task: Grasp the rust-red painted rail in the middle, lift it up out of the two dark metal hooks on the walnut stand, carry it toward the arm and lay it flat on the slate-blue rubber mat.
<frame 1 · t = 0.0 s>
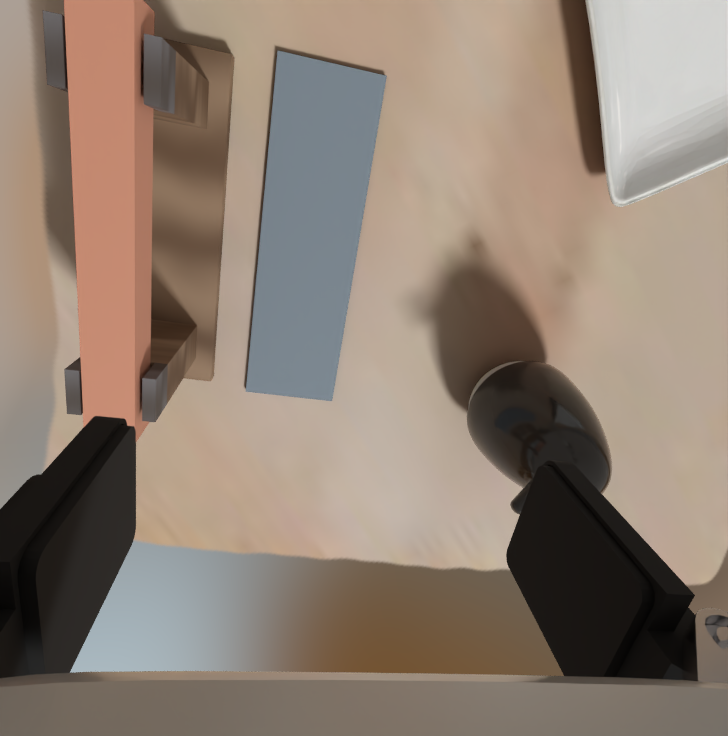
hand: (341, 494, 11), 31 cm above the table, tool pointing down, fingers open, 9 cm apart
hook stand: (171, 227, 37), on the table
pump dispenser: (503, 394, 46), on the table
rail: (125, 243, 28), point 10 cm above the table, touching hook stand
mat: (308, 249, 39), on the table
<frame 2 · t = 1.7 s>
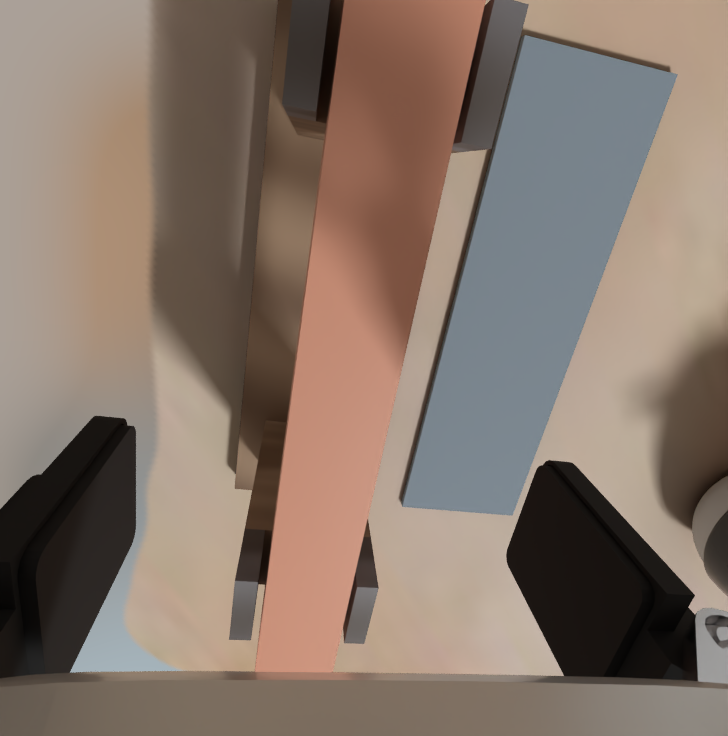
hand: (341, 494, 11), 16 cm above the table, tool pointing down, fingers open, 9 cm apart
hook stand: (329, 296, 26), on the table
rail: (337, 367, 16), point 10 cm above the table, touching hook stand
mat: (514, 323, 27), on the table
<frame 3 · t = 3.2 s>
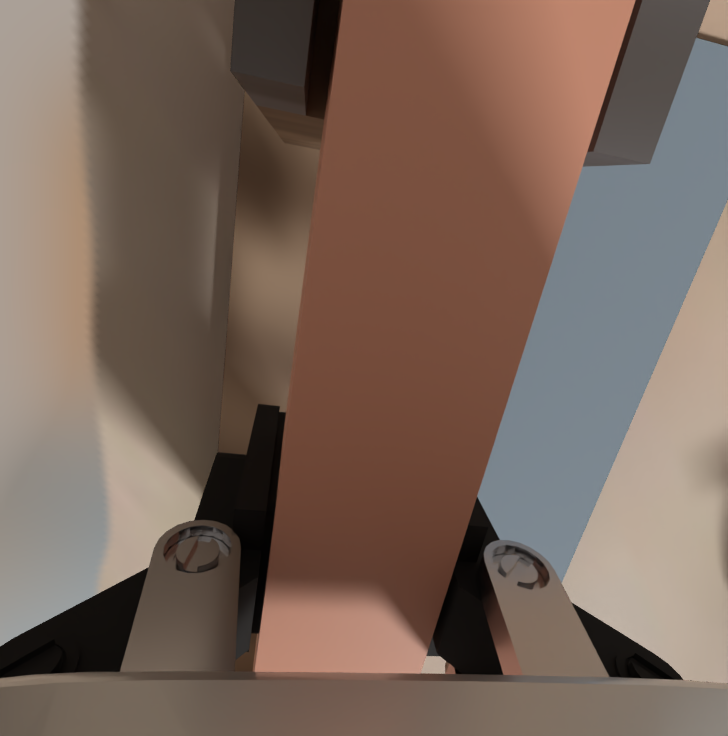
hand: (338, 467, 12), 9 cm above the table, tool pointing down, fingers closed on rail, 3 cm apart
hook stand: (327, 349, 20), on the table
rail: (342, 499, 11), point 10 cm above the table, touching gripper, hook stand
mat: (562, 380, 22), on the table
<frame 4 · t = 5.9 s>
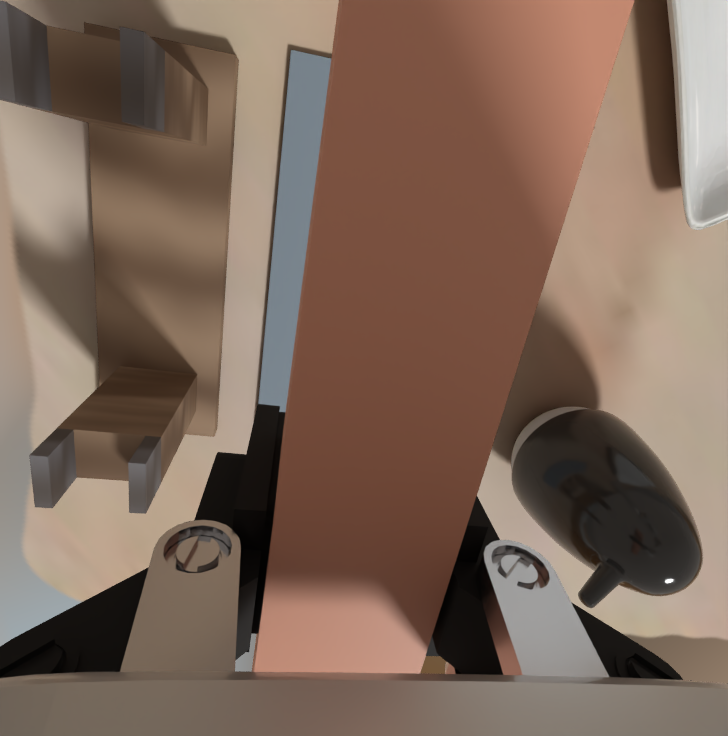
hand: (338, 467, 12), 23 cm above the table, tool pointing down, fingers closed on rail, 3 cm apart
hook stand: (165, 261, 31), on the table
pump dispenser: (549, 441, 41), on the table
rail: (341, 500, 11), point 24 cm above the table, touching gripper
mat: (327, 284, 33), on the table
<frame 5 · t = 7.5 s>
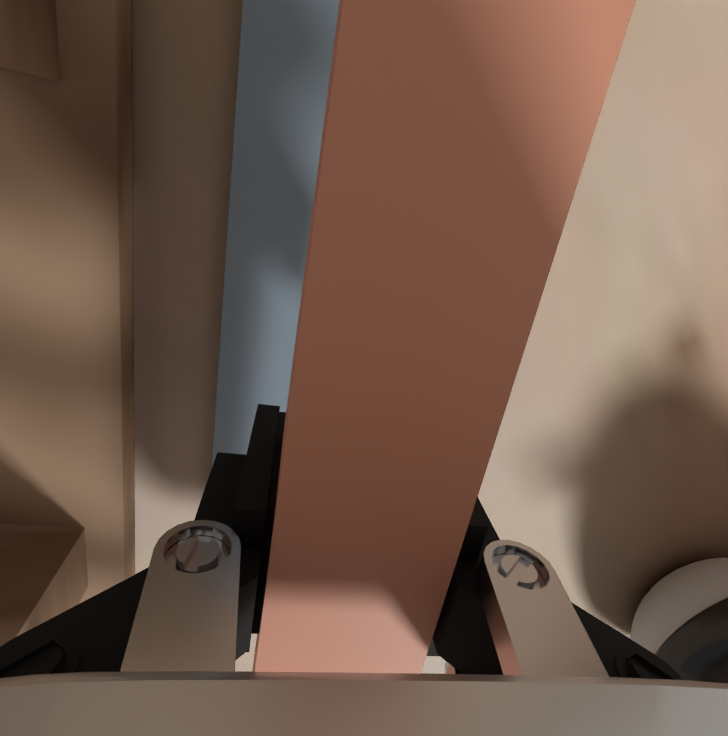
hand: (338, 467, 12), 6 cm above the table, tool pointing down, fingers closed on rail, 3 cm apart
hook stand: (8, 323, 16), on the table
pump dispenser: (683, 596, 25), on the table
rail: (341, 502, 11), point 8 cm above the table, touching gripper
mat: (330, 363, 18), on the table
when the fingers open (1 cm above the table, at t = 8.9 s): rail drops 2 cm, resting on mat.
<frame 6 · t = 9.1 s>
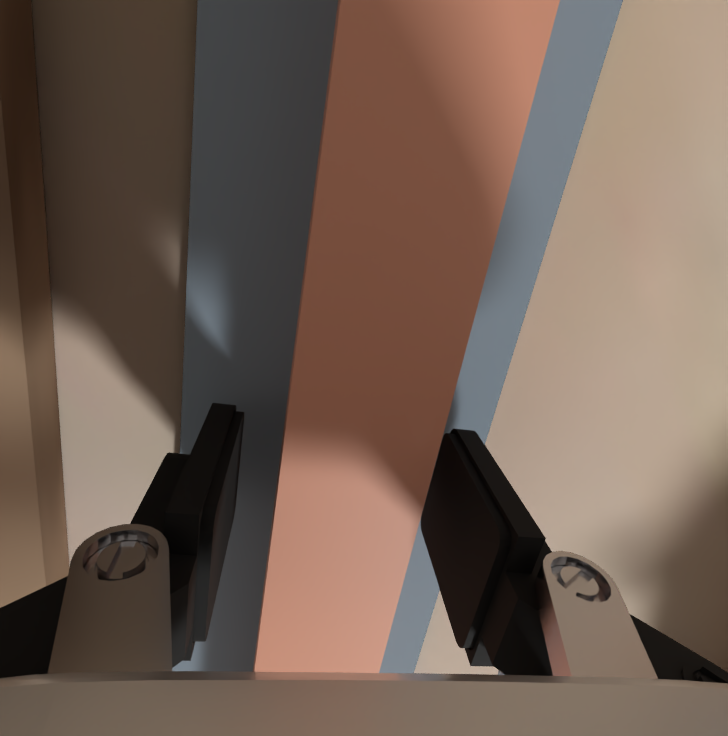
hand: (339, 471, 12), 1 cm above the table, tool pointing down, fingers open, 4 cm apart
rail: (338, 451, 12), resting on mat
mat: (336, 444, 13), on the table
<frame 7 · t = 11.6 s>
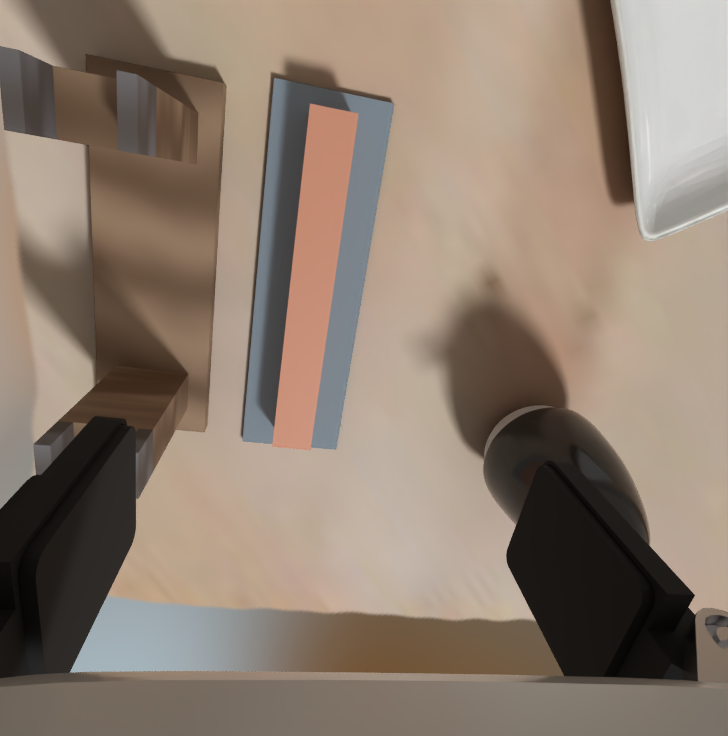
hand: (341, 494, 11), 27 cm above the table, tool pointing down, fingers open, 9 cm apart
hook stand: (159, 269, 34), on the table
pump dispenser: (521, 438, 43), on the table
rail: (310, 291, 35), resting on mat
mat: (309, 290, 36), on the table
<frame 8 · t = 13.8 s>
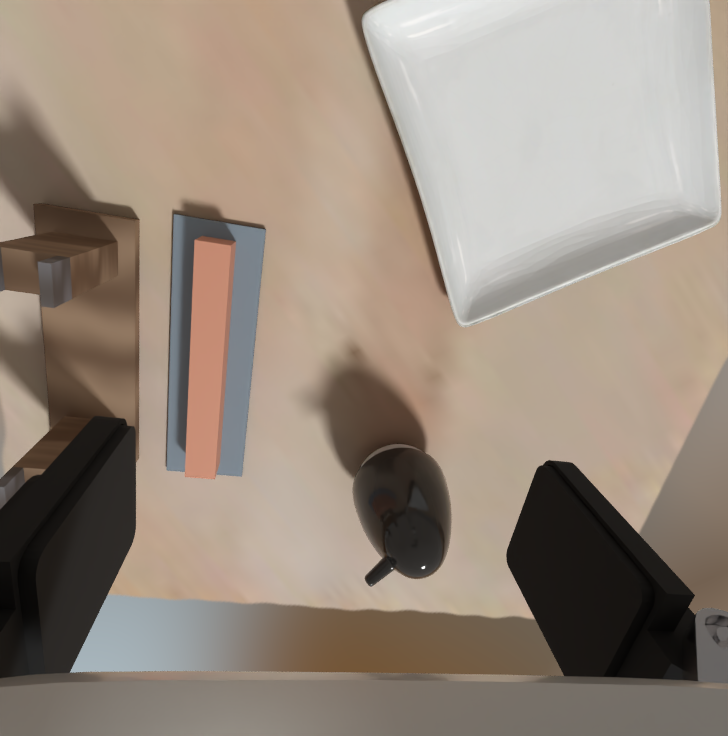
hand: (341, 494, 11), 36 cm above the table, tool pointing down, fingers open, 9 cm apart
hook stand: (95, 345, 45), on the table
square plate: (543, 134, 43), on the table
pump dispenser: (392, 467, 54), on the table
rail: (211, 360, 47), resting on mat
mat: (212, 359, 47), on the table
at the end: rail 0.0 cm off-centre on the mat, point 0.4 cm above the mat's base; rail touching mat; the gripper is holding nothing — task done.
